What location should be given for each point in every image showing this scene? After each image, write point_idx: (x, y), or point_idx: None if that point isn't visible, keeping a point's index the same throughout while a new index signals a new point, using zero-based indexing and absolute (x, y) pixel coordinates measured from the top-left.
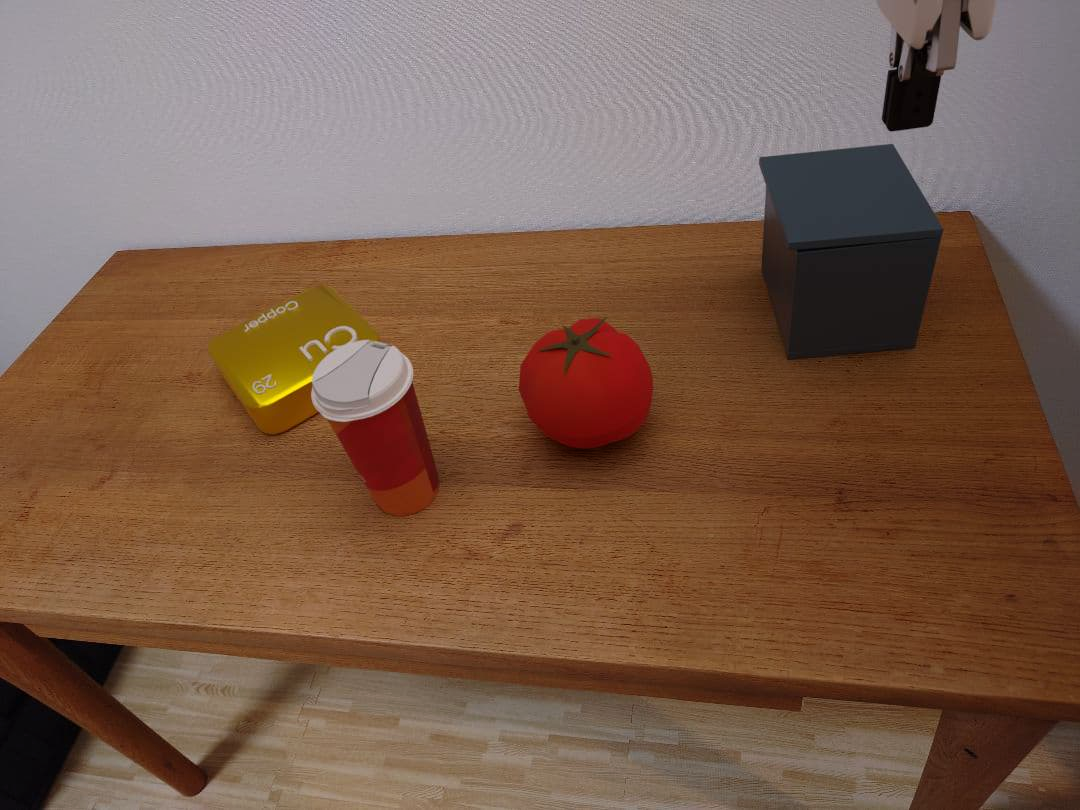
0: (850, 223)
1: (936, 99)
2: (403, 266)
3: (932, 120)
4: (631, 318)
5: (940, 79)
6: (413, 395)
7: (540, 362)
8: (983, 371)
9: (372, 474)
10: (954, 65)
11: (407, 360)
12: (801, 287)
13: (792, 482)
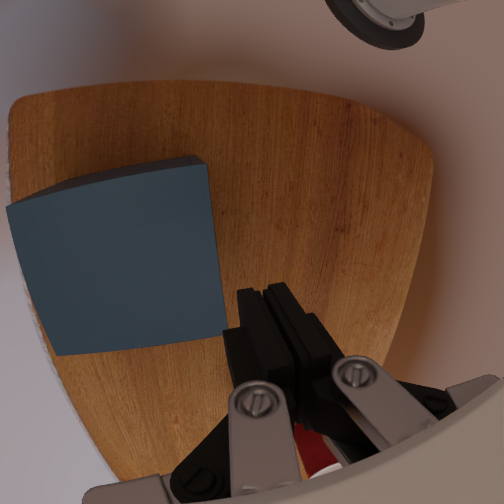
0: (189, 273)
1: (301, 310)
2: (133, 461)
3: (284, 284)
4: (163, 364)
5: (322, 340)
6: (330, 456)
7: (295, 424)
8: (228, 107)
9: None
10: (498, 379)
11: (323, 470)
12: None
13: (327, 256)
